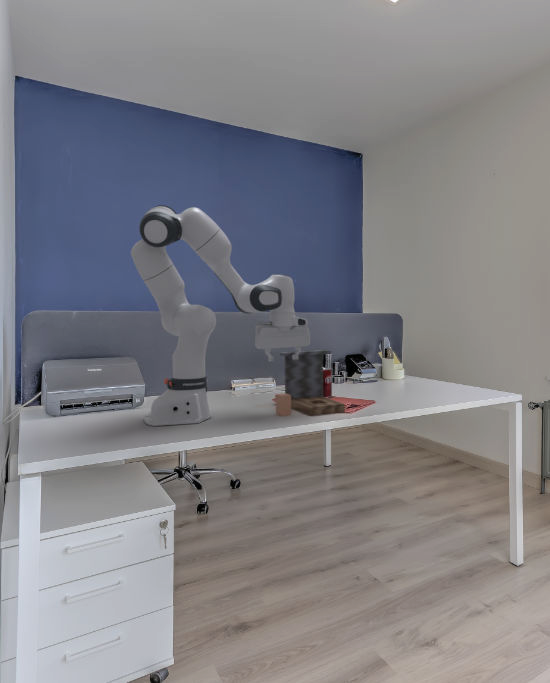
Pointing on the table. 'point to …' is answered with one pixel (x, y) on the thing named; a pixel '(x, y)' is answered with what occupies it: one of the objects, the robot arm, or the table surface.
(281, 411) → the peg
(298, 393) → the socket block
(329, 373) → the soda can
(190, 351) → the robot arm
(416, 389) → the table surface
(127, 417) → the table surface
